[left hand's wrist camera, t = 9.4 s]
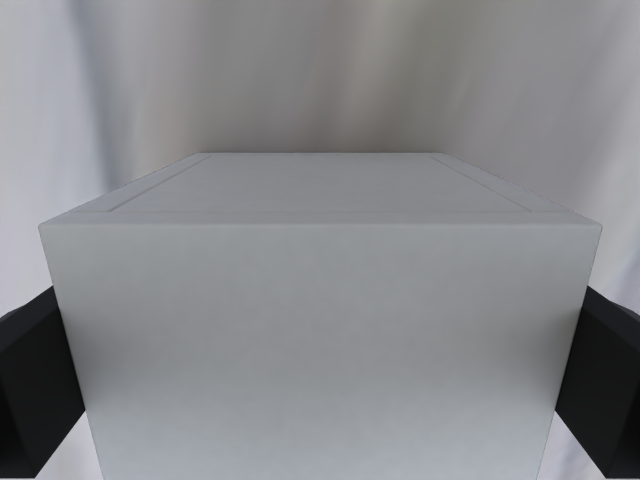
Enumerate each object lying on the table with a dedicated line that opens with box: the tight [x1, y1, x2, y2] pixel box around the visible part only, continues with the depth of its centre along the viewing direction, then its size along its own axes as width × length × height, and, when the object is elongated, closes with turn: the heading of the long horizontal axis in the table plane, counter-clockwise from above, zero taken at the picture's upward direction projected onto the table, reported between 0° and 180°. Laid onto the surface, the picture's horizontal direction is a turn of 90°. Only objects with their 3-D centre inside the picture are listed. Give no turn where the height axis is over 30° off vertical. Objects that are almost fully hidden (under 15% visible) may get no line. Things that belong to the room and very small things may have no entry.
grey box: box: [38, 153, 602, 480], centre depth 15 cm, size 18×11×10 cm, turn 0°
